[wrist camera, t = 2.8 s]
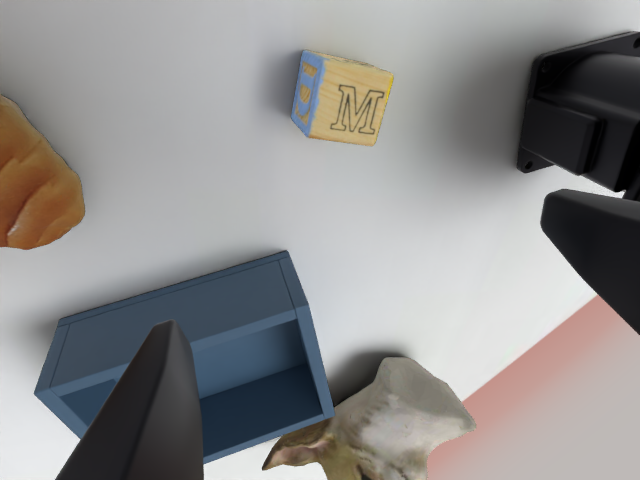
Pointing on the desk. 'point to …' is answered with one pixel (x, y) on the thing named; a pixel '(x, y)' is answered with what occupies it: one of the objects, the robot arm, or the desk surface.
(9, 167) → the pastry
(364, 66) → the alphabet block
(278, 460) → the ceramic sculpture
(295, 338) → the blue open box
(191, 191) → the desk surface
